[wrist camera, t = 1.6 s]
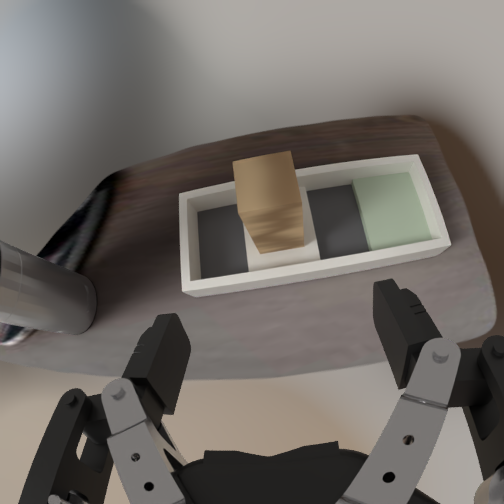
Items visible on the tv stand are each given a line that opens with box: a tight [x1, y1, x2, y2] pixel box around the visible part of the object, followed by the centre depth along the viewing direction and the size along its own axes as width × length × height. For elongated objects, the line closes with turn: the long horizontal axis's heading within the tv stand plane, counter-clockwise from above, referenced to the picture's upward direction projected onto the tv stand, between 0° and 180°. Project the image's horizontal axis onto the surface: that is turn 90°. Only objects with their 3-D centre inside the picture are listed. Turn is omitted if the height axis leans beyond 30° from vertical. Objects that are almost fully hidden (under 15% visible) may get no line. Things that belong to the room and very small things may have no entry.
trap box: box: [179, 154, 451, 297], centre depth 33 cm, size 30×12×4 cm, turn 97°
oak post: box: [233, 151, 304, 254], centre depth 28 cm, size 5×5×11 cm
